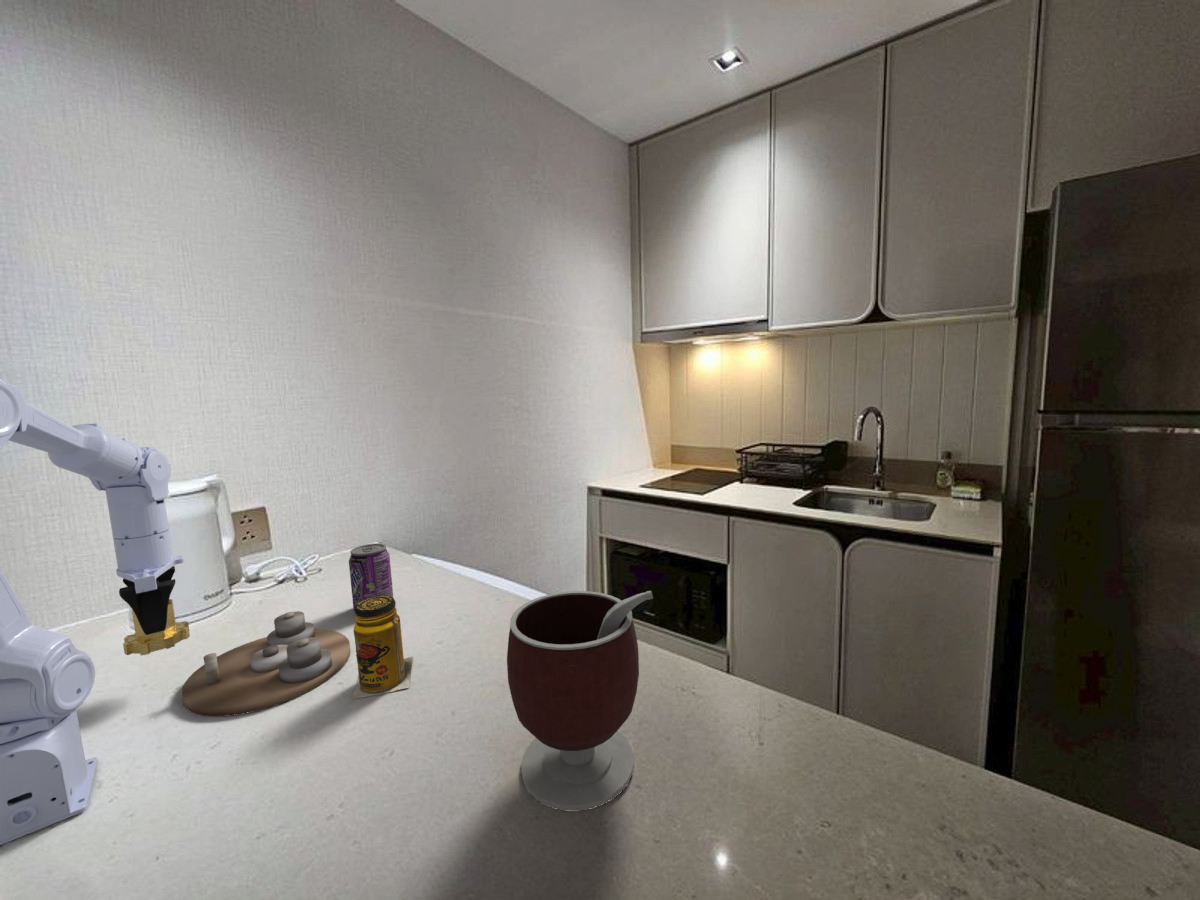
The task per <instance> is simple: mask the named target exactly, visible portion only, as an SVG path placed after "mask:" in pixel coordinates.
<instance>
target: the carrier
mask: <svg viewBox="0 0 1200 900" xmlns="http://www.w3.org/2000/svg"><path fill="white" fill-rule="evenodd" d="M273 624H274V630H272V631H270V633H269V634H268V635H267V636H265V637H262V638H259V639H255V640H252V641H250V642H247V643H244V644H242V645H238V646H236V647H235V648H232V649H229V650H228V651H225V652H224V653H221V654H219V655H218V656H217V653H216V652H212V653H211V652H210V653H208V654H205V655H204V656H203V665H201V666H200V667H199V668H197V669H196V670H195V671H194V672H192V674H191V675H190V676H188V678H187V679H186V680H185V682H184V683H183V684H182V685H183V686H182V688H181V697H182V698H181V699H182V703H183V706H184V708H185V707H186V708H185V709H186V710H187V709H188V710H187V711H189V712H190V711H191V712H190V713H193V714H195V713H196V714H195V715H198V714H199V715H200V716H204V717H227V715H230V716H237V715H236V714H238V715H243V714H242V713H244V714H248V713H247V712H249V713H253V712H252V711H254V712H258V711H261V709H262V710H265V709H268V708H272V707H274V706H277V705H281V704H283V703H287V702H288V701H291V700H293V699H296V698H299V697H300V696H302V695H305V694H307V693H309V692H311V691H312V690H314V689H316V688H317V687H320V686H321V685H323V684H324V683H326V682H327V681H329V680H330V679H332V678H333V677H334V676H335V675H336V674H338V673H339V672H340V671H341V670H342V669H343V668H344V666H345V665H346V664H347V663H348V662H349V659H350V657H351V645H350V640H349V638H348V637H347V636H346V635H345V634H343V633H341V632H338V631H336V630H331V629H322V628H315V625H314V623H312V622H308V621H306V619H305V613H304V612H303V611H299V610H298V611H289V612H288V611H287V612H285V613H283V614H280V615H278V616H277V617H275V618H274V619H273ZM257 710H258V711H257ZM234 714H235V715H234ZM199 715H198V716H199ZM225 715H226V716H225Z"/></svg>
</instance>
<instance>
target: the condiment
mask: <svg viewBox="0 0 1200 900" xmlns="http://www.w3.org/2000/svg"><path fill="white" fill-rule="evenodd" d="M396 603H397V601H396V599H395V598H394V596H393V597H390V596H376V597H371V598H368V599H366V600H363V601H361V602H360V603H358V604H357V605H356V607H355V611H354V613H355V618H354V619H355V624H354V625H353V636H354V641H355V644H354V645H355V652H356V662H357V663H356V664H357V670H358V671H357V672H358V679H357V683H356V686H355V689H354V693H353V695H352V698H351V700H356V699H360V698H361V699H362V698H365V697H367V698H368V697H371V696H372V697H373V696H378V695H382V694H383V695H384V694H388V693H391V692H396V691H399V690H404V689H409V688H410V686H411V685H410V683H411V677H412V667H413V659H414V655H413V656H408V657H406V658H404V650H403V649H404V648H403V647H404V646H403V639H402V638H403V637H402V627H401V617H400V616H399V614H398V613H397V608H396Z"/></svg>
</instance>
